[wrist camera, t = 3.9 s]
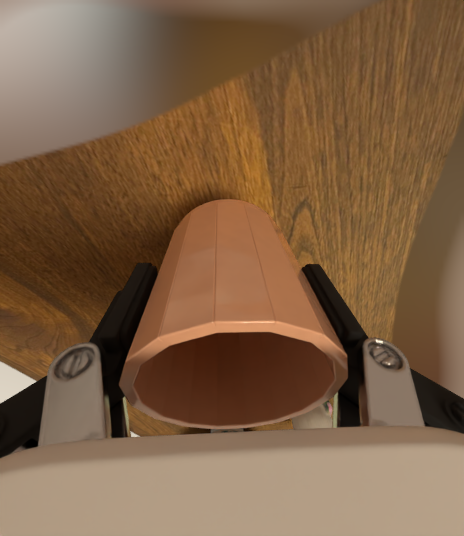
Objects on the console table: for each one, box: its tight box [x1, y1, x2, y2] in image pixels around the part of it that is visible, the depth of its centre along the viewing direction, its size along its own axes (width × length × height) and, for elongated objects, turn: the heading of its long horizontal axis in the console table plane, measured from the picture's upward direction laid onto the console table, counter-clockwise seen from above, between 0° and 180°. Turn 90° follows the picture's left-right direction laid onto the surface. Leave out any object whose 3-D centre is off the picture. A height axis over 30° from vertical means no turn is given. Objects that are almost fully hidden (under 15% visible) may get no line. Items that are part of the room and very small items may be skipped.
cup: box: [119, 199, 348, 429], centre depth 10 cm, size 7×7×8 cm
